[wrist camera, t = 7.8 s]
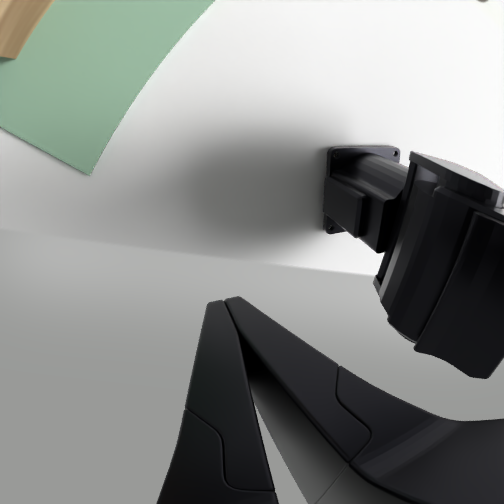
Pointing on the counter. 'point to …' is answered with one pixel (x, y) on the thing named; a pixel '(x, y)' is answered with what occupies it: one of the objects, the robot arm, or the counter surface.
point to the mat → (87, 71)
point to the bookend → (19, 23)
